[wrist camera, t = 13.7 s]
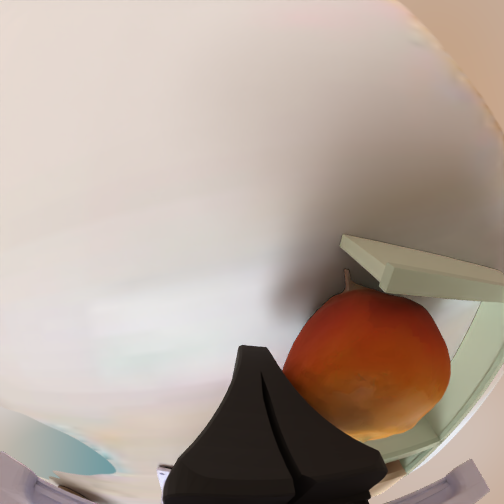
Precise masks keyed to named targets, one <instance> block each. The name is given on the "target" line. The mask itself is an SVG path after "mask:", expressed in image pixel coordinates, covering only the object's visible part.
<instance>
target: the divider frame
mask: <svg viewBox="0 0 504 504" xmlns="http://www.w3.org/2000/svg"><path fill="white" fill-rule="evenodd" d="M340 247H341V248H342V249H343V250H344V251H345V252H347V253H348V254H349V255H350V256H351V257H352V258H353V259H355V260H356V261H357V262H358V263H359V264H360V265H361V266H362V267H364V268H365V269H366V270H367V271H368V272H369V273H370V274H371V275H372V276H374V277H375V278H376V279H377V280H378V281H379V282H380V284H379V287H380V288H381V289H382V290H383V291H384V292H385V293H392V294H402V295H412V296H423V297H434V298H445V299H457V300H470V301H482V302H481V304H480V307H479V309H478V311H477V313H476V315H475V318H474V320H473V322H472V324H471V326H470V328H469V330H468V332H467V334H466V336H465V338H464V340H463V342H462V343H461V345H460V347H459V349H458V351H457V352H456V354H455V356H454V358H453V359H452V361H451V363H450V364H451V376H450V381H449V384H448V387H447V389H446V391H445V393H444V395H443V397H442V399H441V400H440V401H439V402H438V403H437V404H436V405H435V406H434V407H433V408H432V409H431V410H430V411H429V412H428V413H427V414H426V415H425V416H424V417H422V418H421V419H420V420H419V421H418V422H417V424H416V425H415V426H414V427H413V428H412V429H410V430H408V431H406V432H403V433H400V434H395V435H391V436H389V437H387V438H381V439H376V440H368V441H366V442H364V444H366V445H368V446H370V447H372V448H374V449H376V450H378V451H379V452H380V454H381V456H382V457H383V460H384V462H385V463H389V462H392V461H396V460H399V461H400V463H401V465H402V467H403V469H405V472H406V475H408V474H409V473H410V472H411V471H412V470H414V469H415V468H416V467H417V466H418V465H419V464H420V463H422V462H423V461H424V460H425V459H426V458H427V457H428V456H429V455H430V454H431V453H432V452H433V451H434V450H435V449H436V448H437V447H438V446H439V445H440V444H441V443H442V442H443V441H444V440H445V439H446V438H447V437H448V436H449V435H450V434H451V433H452V432H453V430H454V429H455V428H456V427H457V426H458V425H459V424H460V422H461V421H462V420H463V419H464V418H465V417H466V415H467V414H468V413H469V412H470V410H471V409H472V408H473V407H474V405H475V404H476V403H477V401H478V400H479V399H480V397H481V396H482V395H483V393H484V392H485V390H486V389H487V388H488V386H489V385H490V383H491V382H492V380H493V379H494V377H495V376H496V374H497V373H498V371H499V369H500V368H501V366H502V365H503V363H504V273H502V272H500V271H499V270H496V269H492V268H489V267H485V266H481V265H477V264H473V263H469V262H465V261H461V260H457V259H453V258H449V257H445V256H441V255H437V254H433V253H428V252H424V251H420V250H415V249H411V248H406V247H402V246H397V245H393V244H388V243H383V242H379V241H374V240H369V239H364V238H359V237H354V236H349V235H344V234H343V235H342V239H341V243H340ZM359 442H361V441H359ZM361 443H363V442H361ZM406 475H405V476H406ZM405 476H404V477H405Z"/></svg>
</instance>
